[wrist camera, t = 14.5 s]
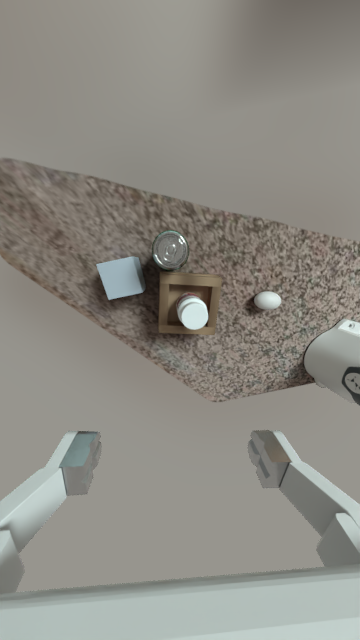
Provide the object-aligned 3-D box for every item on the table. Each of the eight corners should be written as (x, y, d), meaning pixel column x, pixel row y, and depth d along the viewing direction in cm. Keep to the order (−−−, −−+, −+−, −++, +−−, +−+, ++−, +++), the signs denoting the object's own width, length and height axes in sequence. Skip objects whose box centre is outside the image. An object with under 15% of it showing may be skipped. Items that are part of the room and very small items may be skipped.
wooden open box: (214, 274, 35) (224, 276, 29) (208, 324, 38) (215, 336, 32) (160, 270, 34) (159, 272, 28) (159, 322, 38) (157, 334, 31)
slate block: (138, 257, 33) (132, 256, 28) (146, 287, 35) (142, 292, 30) (108, 264, 33) (96, 264, 28) (118, 294, 35) (108, 299, 30)
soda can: (186, 247, 33) (196, 237, 22) (177, 272, 35) (182, 276, 23) (161, 236, 32) (158, 221, 21) (153, 263, 34) (146, 262, 22)
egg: (272, 308, 38) (283, 313, 35) (247, 306, 38) (256, 310, 34) (277, 291, 37) (289, 294, 34) (251, 288, 37) (260, 291, 33)
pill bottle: (200, 316, 34) (209, 332, 26) (175, 316, 33) (178, 332, 25) (201, 292, 32) (212, 301, 24) (176, 291, 32) (178, 300, 24)
